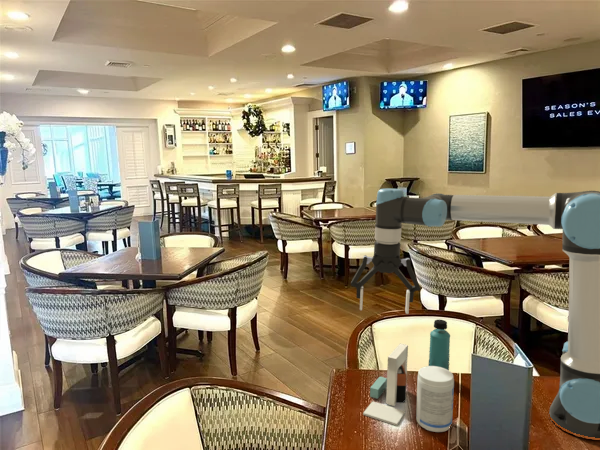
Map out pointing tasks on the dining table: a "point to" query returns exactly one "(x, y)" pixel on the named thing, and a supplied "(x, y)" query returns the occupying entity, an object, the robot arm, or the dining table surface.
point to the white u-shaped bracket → (395, 371)
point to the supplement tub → (435, 398)
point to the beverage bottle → (439, 345)
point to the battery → (401, 385)
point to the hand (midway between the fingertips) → (383, 310)
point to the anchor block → (378, 387)
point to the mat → (384, 413)
